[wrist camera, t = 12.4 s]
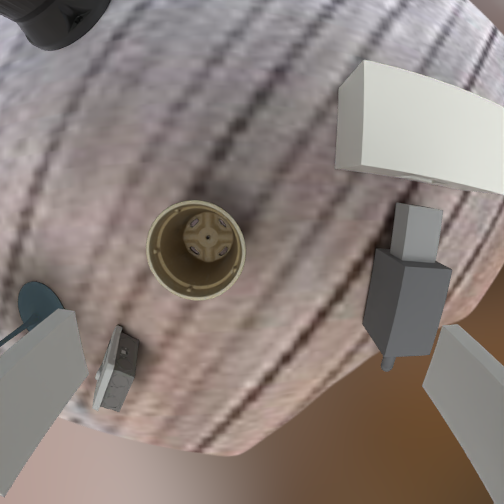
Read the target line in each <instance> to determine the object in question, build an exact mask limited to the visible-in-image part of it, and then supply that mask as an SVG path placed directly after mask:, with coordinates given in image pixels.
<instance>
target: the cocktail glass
mask: <svg viewBox="0 0 504 504" xmlns="http://www.w3.org/2000/svg"><path fill="white" fill-rule="evenodd" d="M18 308H19V312H20V316H21V318H22V321H23V323H24V324H22V325H21V326H20V327H19V328H17V329H16V330H15V331H13V332H12V333H10V334H9V335H8V336H6V337H5V338H4V339H2V340H1V341H0V347H1V346H2V345H3V344H5V343H6V342H7V341H9V340H10V339H11V338H13V337H14V336H16V335H17V334H19V333H20V332H22V331H23V330H25V329H26V328H27V329H28V331H29V332H30V331H31V330H32V329H33V328H35V327H36V326H37V325H38V324H40V323H41V322H42V321H43V320H44V319H46V318H47V317H48V316H50V315H51V314H52V313H53V312H55V311H56V310H57V309H58V308H59V309H64V308H63V306H62V304H61V302H60V300H59V299H58V297H57V296H56V295H55V293H54V292H53V291H52V290H51V289H50V288H48V287H47V286H45V285H44V284H42V283H39V282H29V283H27V284H25V285H24V286H23V287H22V289H21V290H20V293H19V297H18Z"/></svg>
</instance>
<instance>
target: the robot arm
mask: <svg viewBox="0 0 504 504" xmlns="http://www.w3.org/2000/svg"><path fill="white" fill-rule="evenodd" d="M109 2H110V0H0V15H2V16H4V17H7V18H9V19H10V20H12V21H14V22H16V23H17V24H18V25H19V26H20V28H21V29H22V31H23V32H24V33H25V34H26V37H27V39H28V40H29V42H30V43H31V44H33V45H34V46H36V47H38V48H40V49H43V50H56V49H60V48H63V47H65V46H67V45H69V44H71V43H73V42H74V41H76V40H77V39H79V38H80V37H81V36H83V35H84V34H85V33H86V32H87V31H88V30H89V29H90V28H91V27H92V26H93V25H94V24H95V23H96V22H97V21H98V20H99V18H100V17H101V16H102V14H103V13H104V11H105V10H106V8H107V6H108V4H109ZM88 374H89V373H88V369H87V365H86V361H85V357H84V353H83V349H82V344H81V340H80V335H79V330H78V326H77V320H76V315H75V311H71V310H65V309H59V308H58V309H57V310H56V311H55V312H53V313H52V314H51V315H50V316H48V317H47V318H46V319H44V320H43V321H42V322H41V323H40V324H38V325H37V326H36V327H35V328H33V329H32V330H31V331H30V332H28V333H27V334H26V335H25V336H24V337H22V338H21V339H20V340H19V341H18V342H16V343H15V344H14V345H13V346H12V347H11V348H9V349H8V350H7V351H6V352H5V353H4V354H2V355H1V356H0V495H1V496H3V497H5V495H6V494H7V492H8V490H9V489H10V487H11V486H12V484H13V482H14V481H15V479H16V478H17V476H18V475H19V473H20V471H21V470H22V468H23V467H24V465H25V464H26V462H27V461H28V459H29V458H30V456H31V455H32V453H33V452H34V450H35V449H36V447H37V446H38V444H39V443H40V441H41V440H42V438H43V437H44V436H45V434H46V433H47V431H48V430H49V428H50V427H51V425H52V424H53V423H54V421H55V420H56V418H57V417H58V416H59V414H60V413H61V411H62V410H63V409H64V407H65V406H66V404H67V403H68V402H69V400H70V399H71V397H72V396H73V395H74V393H75V392H76V391H77V389H78V388H79V386H80V385H81V384H82V382H83V381H84V380H85V378H86V377H87V376H88ZM422 386H423V388H424V389H425V391H426V392H427V394H428V395H429V397H430V398H431V400H432V401H433V403H434V404H435V406H436V407H437V409H438V410H439V412H440V413H441V415H442V417H443V418H444V420H445V421H446V423H447V424H448V426H449V427H450V429H451V431H452V432H453V434H454V435H455V437H456V438H457V440H458V442H459V443H460V445H461V447H462V448H463V450H464V451H465V453H466V455H467V456H468V458H469V459H470V461H471V463H472V465H473V466H474V468H475V470H476V471H477V473H478V474H479V477H480V478H481V480H482V482H483V483H484V485H485V487H486V489H487V491H488V492H489V494H490V496H491V498H492V499H493V501H494V503H495V504H504V366H503V365H502V364H500V363H499V362H498V361H497V360H496V359H495V358H494V357H493V356H492V355H491V354H490V353H489V352H488V351H486V349H484V348H483V347H482V346H481V345H480V344H479V343H478V342H477V341H476V340H474V339H473V338H472V337H471V336H470V335H469V334H468V333H467V332H466V331H465V330H463V329H462V328H461V327H460V326H459V325H457V324H456V325H443V326H442V329H441V332H440V336H439V339H438V342H437V345H436V348H435V351H434V355H433V357H432V360H431V363H430V366H429V369H428V372H427V375H426V377H425V380H424V383H423V385H422Z"/></svg>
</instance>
